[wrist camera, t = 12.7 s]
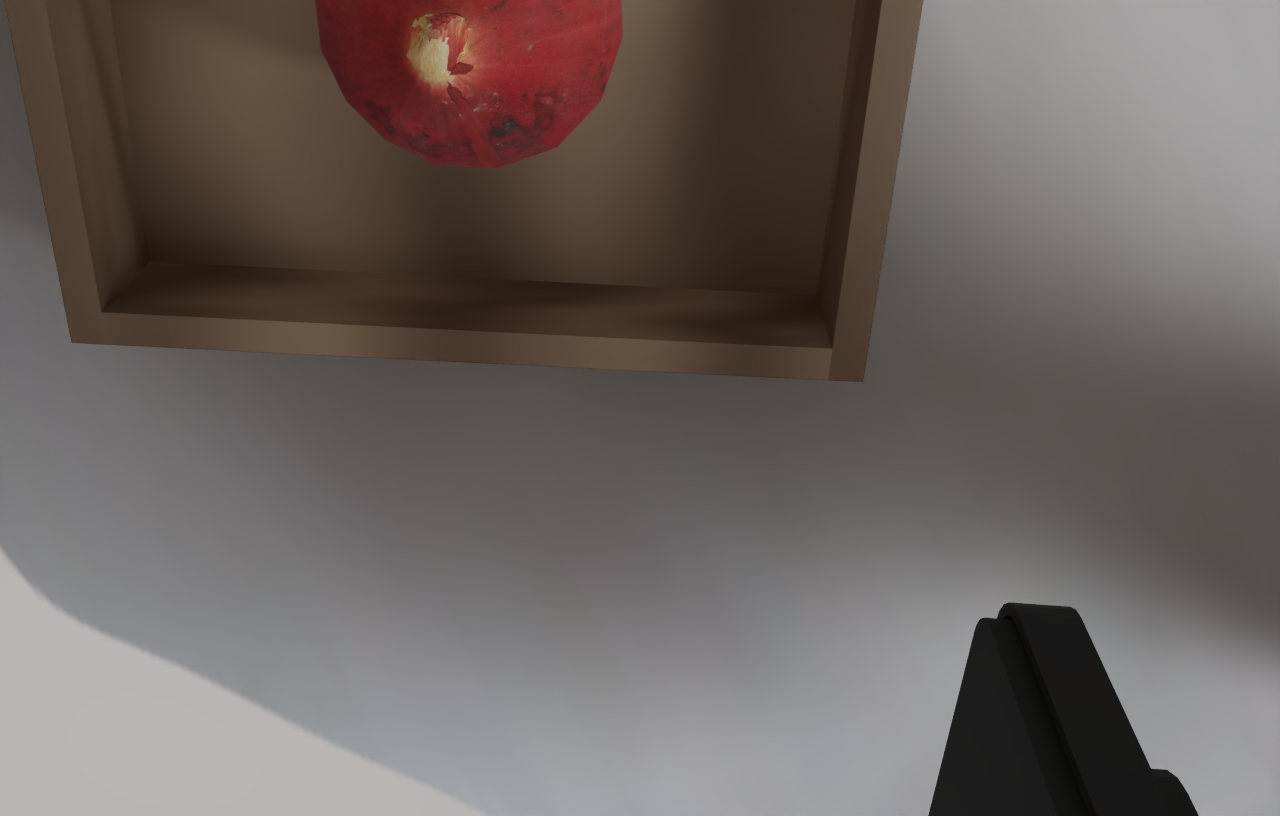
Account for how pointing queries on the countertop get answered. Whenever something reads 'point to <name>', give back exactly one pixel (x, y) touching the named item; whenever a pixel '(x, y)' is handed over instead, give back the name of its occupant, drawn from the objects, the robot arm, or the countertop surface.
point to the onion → (471, 71)
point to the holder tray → (474, 192)
